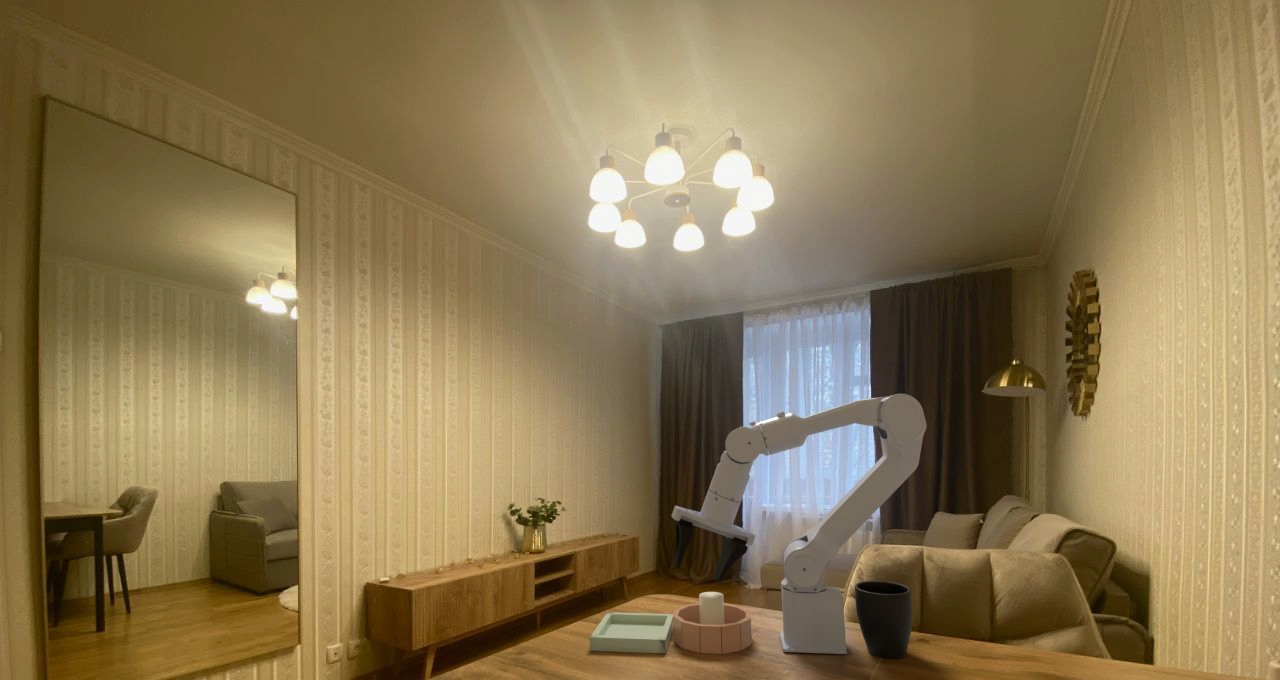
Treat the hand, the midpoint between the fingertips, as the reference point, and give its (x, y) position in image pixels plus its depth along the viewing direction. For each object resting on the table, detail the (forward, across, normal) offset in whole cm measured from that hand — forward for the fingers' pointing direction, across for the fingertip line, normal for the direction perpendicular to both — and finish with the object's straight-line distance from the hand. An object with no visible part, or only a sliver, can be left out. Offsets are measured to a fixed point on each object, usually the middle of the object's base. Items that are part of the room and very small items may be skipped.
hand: (696, 572), depth 101 cm
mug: (-1, -29, +12) cm, 31 cm away
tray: (+14, +6, -2) cm, 15 cm away
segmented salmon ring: (+9, -6, +2) cm, 11 cm away
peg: (+9, -6, +2) cm, 11 cm away
